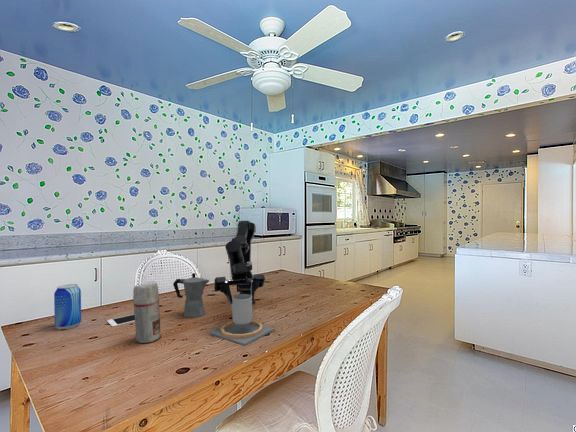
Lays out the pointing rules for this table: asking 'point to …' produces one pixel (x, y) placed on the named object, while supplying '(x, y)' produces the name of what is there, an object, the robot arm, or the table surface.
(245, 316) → the cup
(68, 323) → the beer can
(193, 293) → the coffeepot
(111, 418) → the table surface
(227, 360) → the table surface
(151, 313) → the spray can
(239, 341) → the collar mat
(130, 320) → the cell phone
